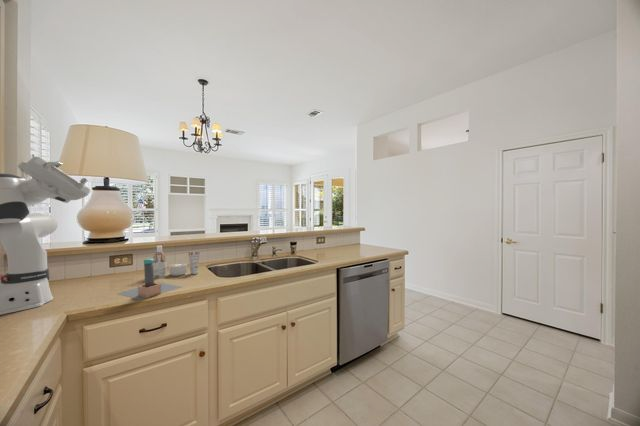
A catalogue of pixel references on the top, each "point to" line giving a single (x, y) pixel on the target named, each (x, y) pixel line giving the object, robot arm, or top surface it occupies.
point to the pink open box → (149, 290)
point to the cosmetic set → (174, 268)
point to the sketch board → (164, 288)
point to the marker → (149, 272)
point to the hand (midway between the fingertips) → (73, 171)
